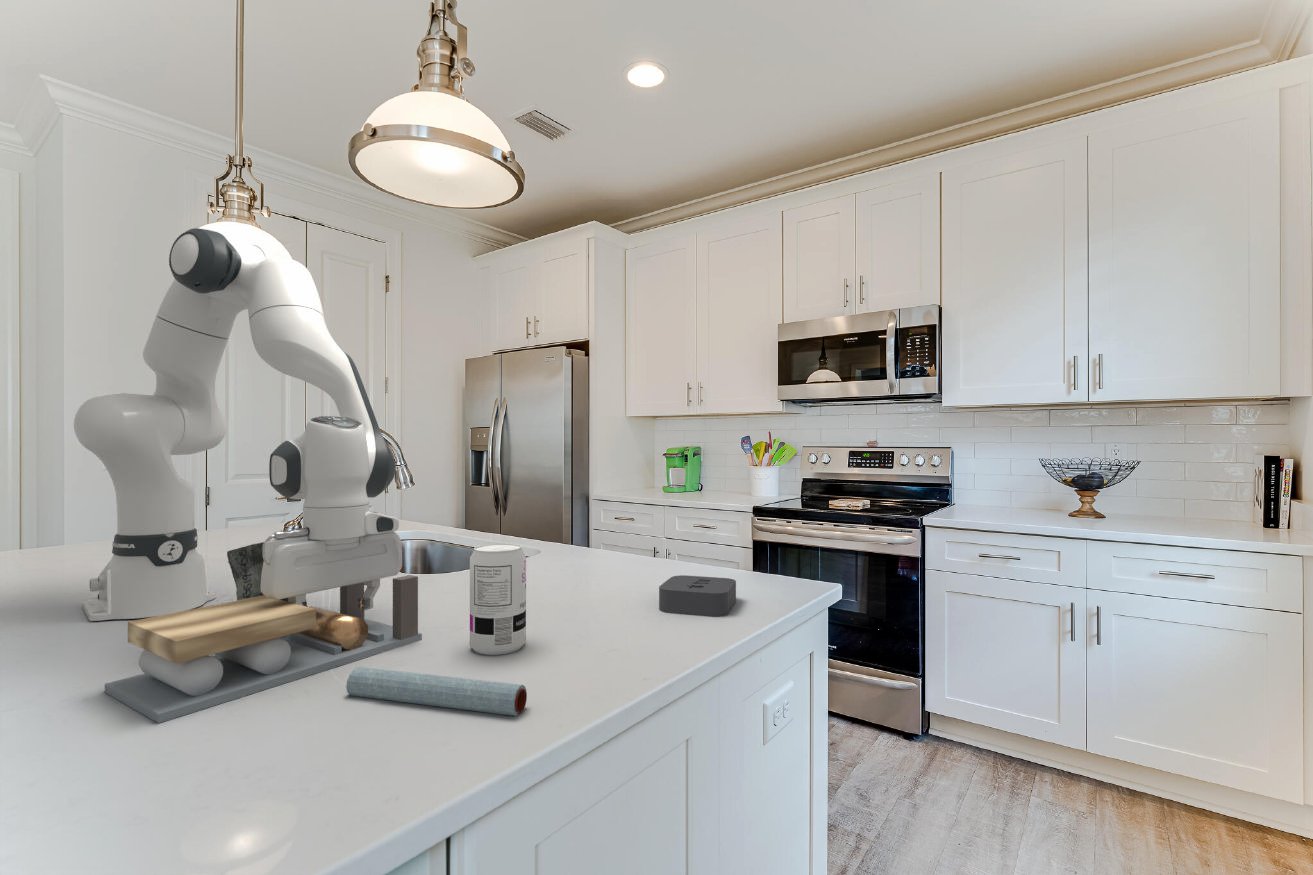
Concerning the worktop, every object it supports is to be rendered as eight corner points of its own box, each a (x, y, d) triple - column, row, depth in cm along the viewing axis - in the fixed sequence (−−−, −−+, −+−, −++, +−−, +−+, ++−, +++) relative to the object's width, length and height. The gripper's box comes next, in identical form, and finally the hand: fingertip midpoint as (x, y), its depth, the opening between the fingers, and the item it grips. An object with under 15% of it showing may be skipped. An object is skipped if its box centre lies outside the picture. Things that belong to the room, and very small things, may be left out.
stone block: (238, 641, 98) (262, 635, 96) (220, 550, 99) (243, 543, 97) (289, 625, 106) (312, 619, 105) (271, 541, 108) (294, 534, 106)
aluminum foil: (528, 709, 74) (528, 680, 74) (500, 735, 68) (500, 703, 68) (364, 689, 80) (364, 662, 80) (324, 711, 73) (324, 682, 73)
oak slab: (127, 641, 79) (127, 622, 79) (263, 612, 93) (263, 595, 93) (176, 663, 72) (176, 641, 72) (316, 627, 85) (316, 609, 85)
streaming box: (725, 620, 109) (725, 594, 109) (655, 614, 113) (655, 589, 113) (738, 602, 122) (738, 578, 122) (674, 597, 125) (674, 574, 125)
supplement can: (458, 647, 94) (459, 547, 94) (506, 635, 101) (506, 541, 101) (488, 660, 89) (488, 554, 89) (536, 646, 95) (536, 547, 95)
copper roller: (301, 641, 96) (288, 619, 95) (327, 622, 100) (314, 600, 98) (347, 656, 90) (334, 632, 88) (372, 635, 93) (360, 611, 92)
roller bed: (104, 691, 78) (104, 611, 78) (361, 623, 107) (361, 564, 107) (158, 723, 69) (158, 632, 69) (421, 639, 98) (421, 575, 98)
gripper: (274, 534, 84) (274, 638, 84) (408, 518, 102) (407, 604, 102) (251, 531, 88) (251, 630, 88) (384, 515, 105) (384, 599, 105)
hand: (336, 616), depth 95 cm, fingers open, 8 cm apart
